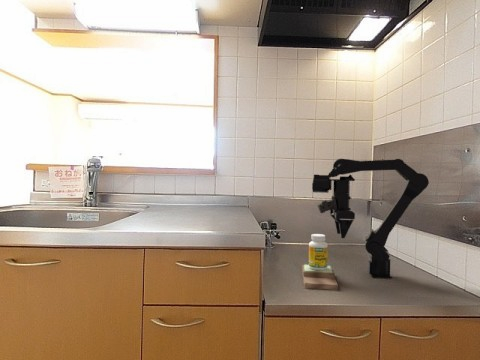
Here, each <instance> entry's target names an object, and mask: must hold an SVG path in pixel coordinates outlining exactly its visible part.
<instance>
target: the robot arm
mask: <svg viewBox="0 0 480 360" xmlns="http://www.w3.org/2000/svg"><path fill="white" fill-rule="evenodd" d="M332 165H333V167H332V169H331V170H330V172H329V173H328V174H326V175H325V174H313V179H312V183H311V185H312V187H311V188H312V193H322V194H324V193H325V194H328V193H329V191H332V190H333V192H332V194H333V195H332V196H331V199H329V200H326V199H325V200H324V201H323V200H322V201H321V202H319V203H316V204H317V208H318V211H319V213H320V214H323V213H326V212H329V216H330V217H331V218H332V219H333V220H334V224H335V230H336V234H337V235H340V238H341V239H345V238H346V236H347V234H348V232H349V230H350V227H351V226H352V224H353V222H354V220H355V219H356V218H355V217H356V213H355V212H354V211H353V210H351V207H350V201H351V199H352V197H351V196H350V195H351V193H350V192H351V191H350V190H351V189H350V188H351V186H350V184H351V183H350V182H355V181H356V178H354V176H353V175H352V174H353V173H357V172H358V173H359V172H373V171H376V172H378V171H379V172H380V171H395V172H396V173H397V174H399V175H400V177H402V178H403V179H404V180H405V181H406V182H405V184H404V186H403V188H402V192H401V194H400V196H399V197H398V198H397V200H396V201H395V202H394V204H393V206H392V208H391V209H390V211H389V212H388V213H387V215H386V216H385V218H384V219H383V221H382V222H381V224H380V225H379V227H378V228H376V229H375V230H374V229H373V228H370V231H369V233H368V234H367V236H365V239H364V240H365V242H364V244H365V250H366V252H368V254H370V255H371V256H369V260H368V261H367V272H368V274H369V275H370V277H372V278H379V279H380V278H381V279H393V277H392V276H391V259H390V257H391V256H390V253H389V250H388V249H387V248H386V247H385V246H386V244H387V241H388V238H389V235H390V234H391V232H392V230H393V229H394V228H395V226H396V225H397V224H398V222H399V221H400V219H401V218H402V216H403V215H404V213H405V212H406V210H407V209H408V207H409V206H410V204H411V203H412V201H414V200H415V199H416V198H417V197H419V195H420V194H422V193H423V191H424V190H425V189H427V187H428V186H429V183H430V182H429V178H428V176H427V175H425V174H424V173H420V172H417V171H416V170H415V169H414V168H412V167H411V166H410V165H408V164H407V163H406V162H404V160H403V159H401V158H395V159H377V160H374V159H373V160H355V159H349V158H347V159H346V158H338V159H336V160H335V161H334V163H333V164H332ZM347 174H348V176H345V175H347ZM340 175H341V176H340ZM342 175H343V176H342ZM338 176H339V178H338V179H335V178H337V177H338ZM332 178H334V179H332ZM332 188H333V189H332Z"/></svg>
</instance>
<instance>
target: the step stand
mask: <svg viewBox="0 0 480 360" xmlns="http://www.w3.org/2000/svg"><path fill="white" fill-rule="evenodd" d="M301 275H302V280H303V281H302V282H303V286H304V289H317V290H319V289H320V290H332V291H334V290H335V291H336V290H337V291H339V284H338V282H337V280H336V278H335V275H336V274H335V271H334V270H333V268H332V266H331V265H328V268H327V269H325V270H313V269H311V268H309V264H302V265H301Z"/></svg>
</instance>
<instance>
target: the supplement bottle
mask: <svg viewBox="0 0 480 360" xmlns="http://www.w3.org/2000/svg"><path fill="white" fill-rule="evenodd" d="M310 238H311V241H309V243H308V265H309V268H311V269H313V270H325V269H327V268H328V266H329V265H328V262H329V261H328V260H329V258H328V257H329V254H328V251H329V250H328V249H329V247H328V246H329V245H328V243H327V242H326V235H325V234H322V233H312V234H311V237H310Z"/></svg>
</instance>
